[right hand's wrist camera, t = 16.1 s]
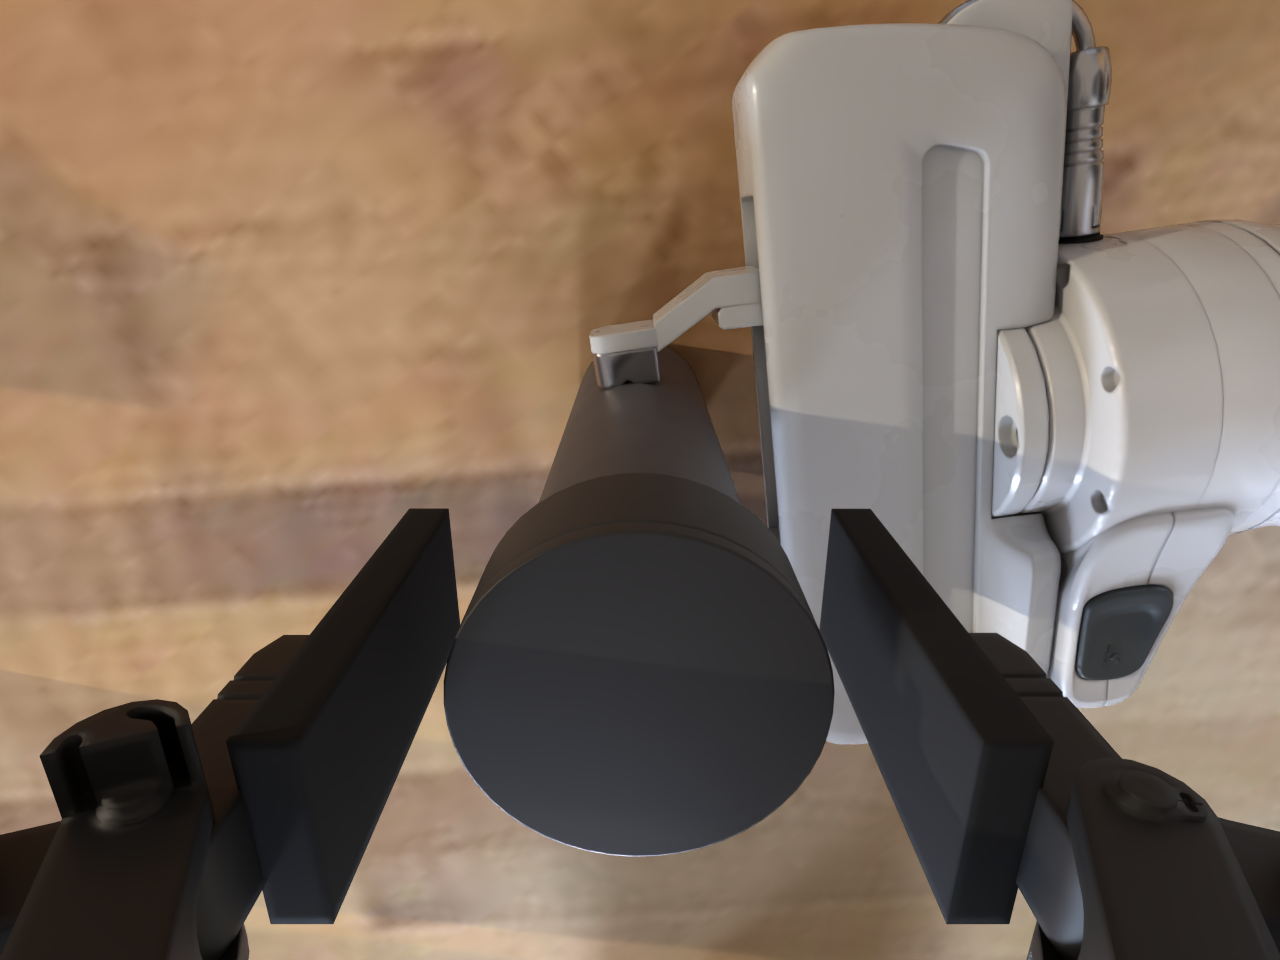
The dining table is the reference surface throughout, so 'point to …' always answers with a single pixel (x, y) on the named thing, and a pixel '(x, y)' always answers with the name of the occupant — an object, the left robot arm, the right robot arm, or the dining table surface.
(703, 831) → the lid
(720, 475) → the dark grey cylinder
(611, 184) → the dining table surface
